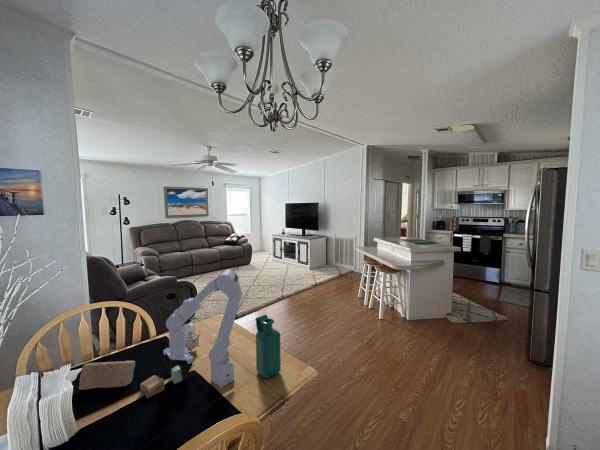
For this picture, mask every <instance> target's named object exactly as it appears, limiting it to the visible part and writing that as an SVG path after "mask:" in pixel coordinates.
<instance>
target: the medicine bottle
mask: <svg viewBox="0 0 600 450" xmlns="http://www.w3.org/2000/svg"><path fill="white" fill-rule="evenodd" d="M191 318H192V316H191V317H190V318H189V319H188V320H186V322H185V323H184V324H185V336H186V335H188V334H190V332H191V333H193V334H195V335H196V328H195V326H196V324H195V323H192V322H191V321H192V320H191Z"/></svg>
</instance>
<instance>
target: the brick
mask: <svg viewBox="0 0 600 450" xmlns="http://www.w3.org/2000/svg"><path fill="white" fill-rule="evenodd" d="M135 367H136V361H135V360H124V361H121V360H120V361H119V360H117V361H105V362H104V361H103V362H89V363H86V364H84V365H83V366H82V368H81V373H80V377H79V385H78V390H80V391H81V390H82V391H84V390H91V389H97V388H98V389H99V388H100V389H103V388H119V387H126V386H128V385H129V384H131V383H132V381H133V378H134V372H135Z"/></svg>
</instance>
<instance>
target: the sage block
mask: <svg viewBox="0 0 600 450" xmlns="http://www.w3.org/2000/svg"><path fill="white" fill-rule="evenodd" d="M170 375H171V381H172V383H173V384H174V385H176V384H178V383H180V382H181V381H184V380H183V379H182V373H181V369H180V367H179V364H178V365H175V367H174V368H171V374H170Z"/></svg>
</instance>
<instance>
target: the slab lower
mask: <svg viewBox="0 0 600 450" xmlns="http://www.w3.org/2000/svg"><path fill="white" fill-rule="evenodd" d="M165 387H166V386H165V384H163V385H162V386H161V387H159V388H158V389H156V390H155V391H153V392H152V393H151V394H150V393H148V392H146V391H144V390H142V389H141V392H142V393H143V394H144V396H145V397H146V399H149V398H150V397H152V396H155V395H157V394H159V393H161V392H163V391H165V389H166V388H165Z"/></svg>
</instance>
